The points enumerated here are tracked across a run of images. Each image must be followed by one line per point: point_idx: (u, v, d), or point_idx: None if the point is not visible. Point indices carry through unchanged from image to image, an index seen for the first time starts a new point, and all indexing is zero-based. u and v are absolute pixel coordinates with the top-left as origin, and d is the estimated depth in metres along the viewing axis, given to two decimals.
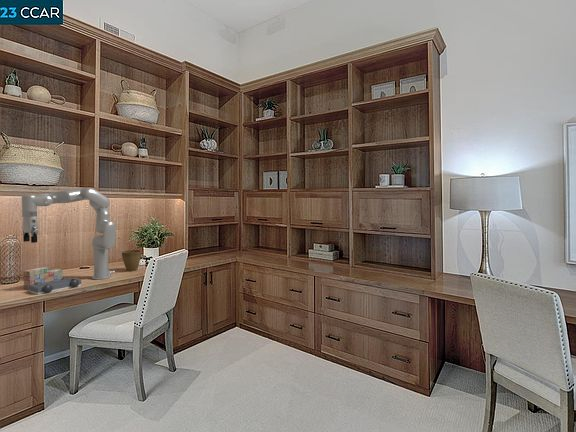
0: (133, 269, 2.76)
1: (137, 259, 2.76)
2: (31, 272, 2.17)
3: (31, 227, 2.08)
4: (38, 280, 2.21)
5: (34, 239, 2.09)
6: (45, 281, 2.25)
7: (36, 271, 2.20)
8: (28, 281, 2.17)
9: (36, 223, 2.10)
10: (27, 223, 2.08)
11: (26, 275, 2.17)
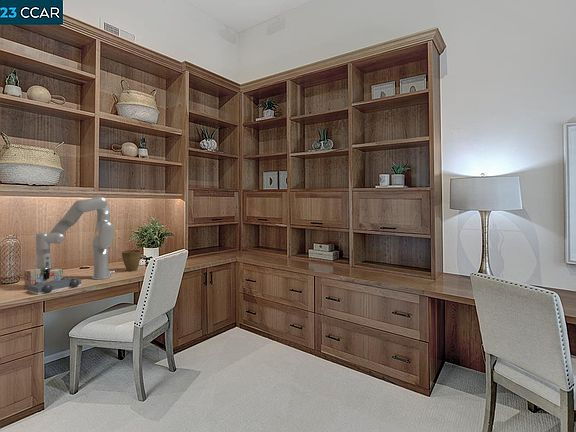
0: (133, 269, 2.76)
1: (137, 259, 2.76)
2: (32, 272, 2.17)
3: (44, 264, 2.23)
4: (39, 280, 2.21)
5: (46, 276, 2.24)
6: (46, 281, 2.26)
7: (37, 271, 2.20)
8: (29, 281, 2.17)
9: (49, 260, 2.25)
10: (41, 260, 2.23)
11: (27, 275, 2.18)
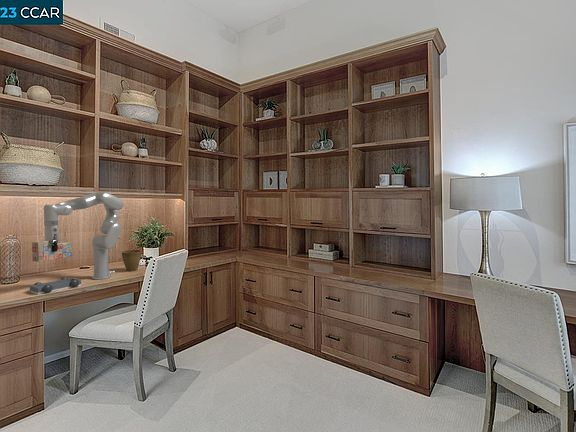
0: (133, 269, 2.76)
1: (137, 259, 2.76)
2: (39, 243, 2.12)
3: (52, 236, 2.17)
4: (47, 252, 2.16)
5: (54, 248, 2.19)
6: (54, 253, 2.20)
7: (44, 242, 2.14)
8: (36, 252, 2.12)
9: (57, 232, 2.20)
10: (49, 232, 2.18)
11: (34, 246, 2.12)
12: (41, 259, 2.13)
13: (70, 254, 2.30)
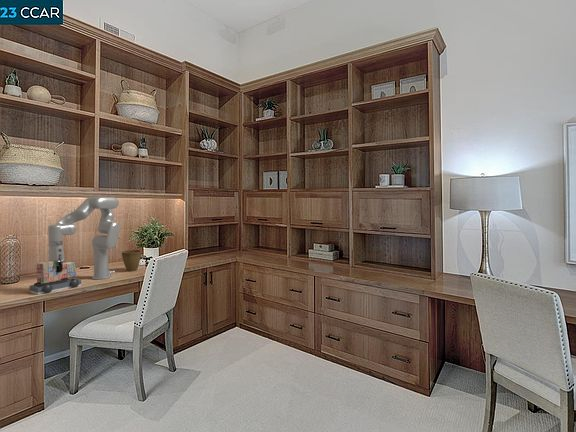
0: (133, 269, 2.76)
1: (137, 259, 2.76)
2: (44, 264, 2.10)
3: (57, 256, 2.16)
4: (51, 273, 2.14)
5: (59, 269, 2.17)
6: (58, 274, 2.18)
7: (49, 263, 2.13)
8: (41, 274, 2.10)
9: (62, 252, 2.18)
10: (53, 252, 2.16)
11: (39, 267, 2.10)
12: (46, 280, 2.11)
13: (74, 274, 2.28)
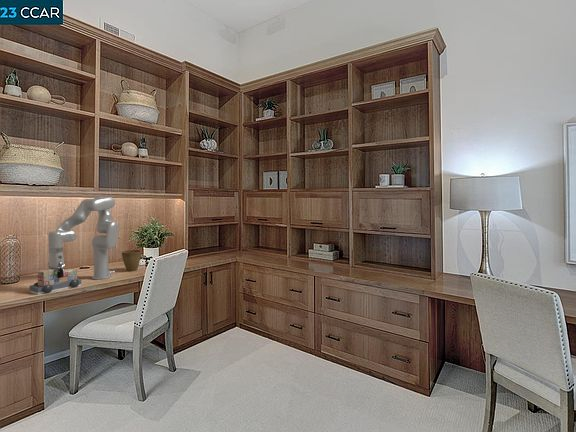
0: (133, 269, 2.76)
1: (137, 259, 2.76)
2: (45, 272, 2.11)
3: (57, 263, 2.16)
4: (52, 281, 2.15)
5: (60, 274, 2.17)
6: (59, 282, 2.19)
7: (50, 271, 2.14)
8: (42, 282, 2.11)
9: (62, 259, 2.18)
10: (53, 259, 2.16)
11: (40, 275, 2.11)
12: None
13: None
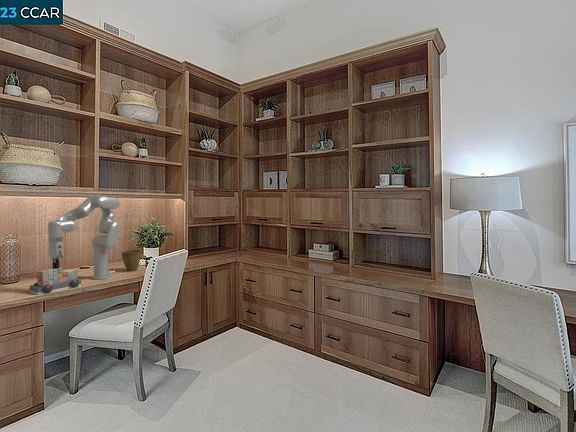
0: (133, 269, 2.76)
1: (137, 259, 2.76)
2: (44, 272, 2.11)
3: (57, 253, 2.16)
4: (51, 281, 2.15)
5: (56, 265, 2.19)
6: (59, 282, 2.19)
7: (49, 271, 2.14)
8: (41, 281, 2.11)
9: (62, 248, 2.18)
10: (53, 249, 2.16)
11: (39, 275, 2.12)
12: None
13: None
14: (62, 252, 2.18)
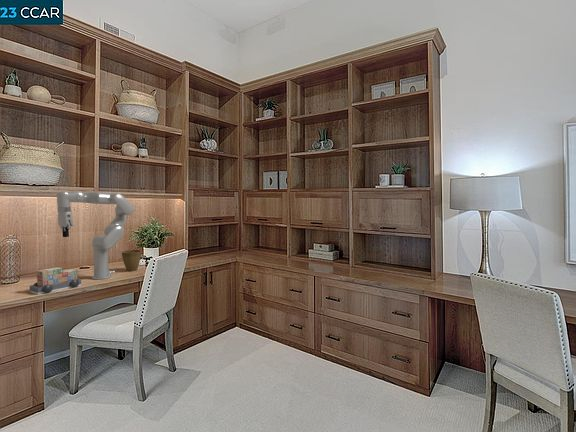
0: (133, 269, 2.76)
1: (137, 259, 2.76)
2: (44, 272, 2.11)
3: (67, 221, 2.27)
4: (51, 280, 2.15)
5: (66, 234, 2.30)
6: (59, 282, 2.19)
7: (49, 271, 2.14)
8: (41, 281, 2.11)
9: (71, 218, 2.29)
10: (63, 218, 2.27)
11: (39, 275, 2.12)
12: None
13: None
14: (71, 221, 2.29)
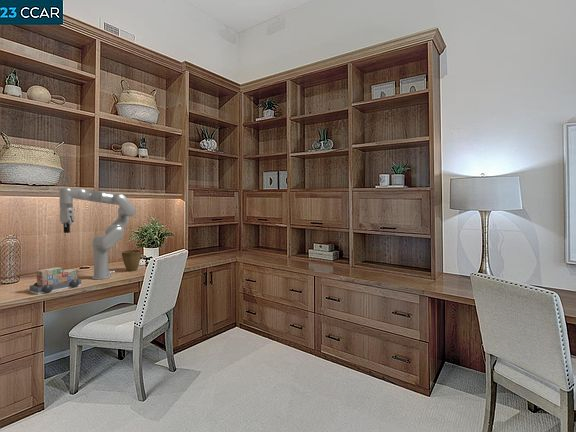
0: (133, 269, 2.76)
1: (137, 259, 2.76)
2: (43, 272, 2.12)
3: (68, 217, 2.29)
4: (51, 280, 2.15)
5: (67, 230, 2.32)
6: (58, 282, 2.19)
7: (49, 271, 2.14)
8: (41, 281, 2.12)
9: (72, 214, 2.31)
10: (64, 213, 2.29)
11: (39, 275, 2.12)
12: None
13: None
14: (72, 217, 2.32)
